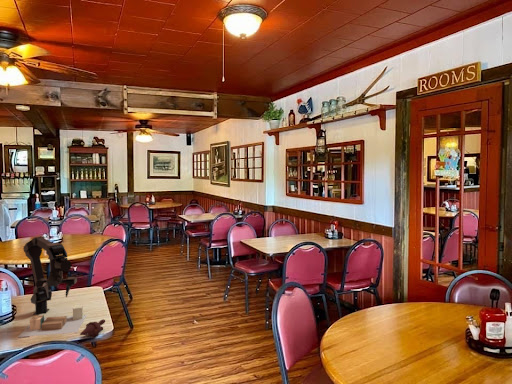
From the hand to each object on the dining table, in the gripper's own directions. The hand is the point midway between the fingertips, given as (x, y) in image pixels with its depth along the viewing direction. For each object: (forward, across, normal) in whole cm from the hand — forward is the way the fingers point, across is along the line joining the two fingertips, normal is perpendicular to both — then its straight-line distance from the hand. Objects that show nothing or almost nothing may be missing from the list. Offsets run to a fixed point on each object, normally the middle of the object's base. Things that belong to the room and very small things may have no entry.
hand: (57, 297), depth 201 cm
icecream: (+12, +22, -24) cm, 35 cm away
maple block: (+9, -4, -9) cm, 14 cm away
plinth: (+12, +1, -9) cm, 15 cm away
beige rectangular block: (+12, +10, 0) cm, 15 cm away
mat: (+12, +1, -8) cm, 14 cm away
